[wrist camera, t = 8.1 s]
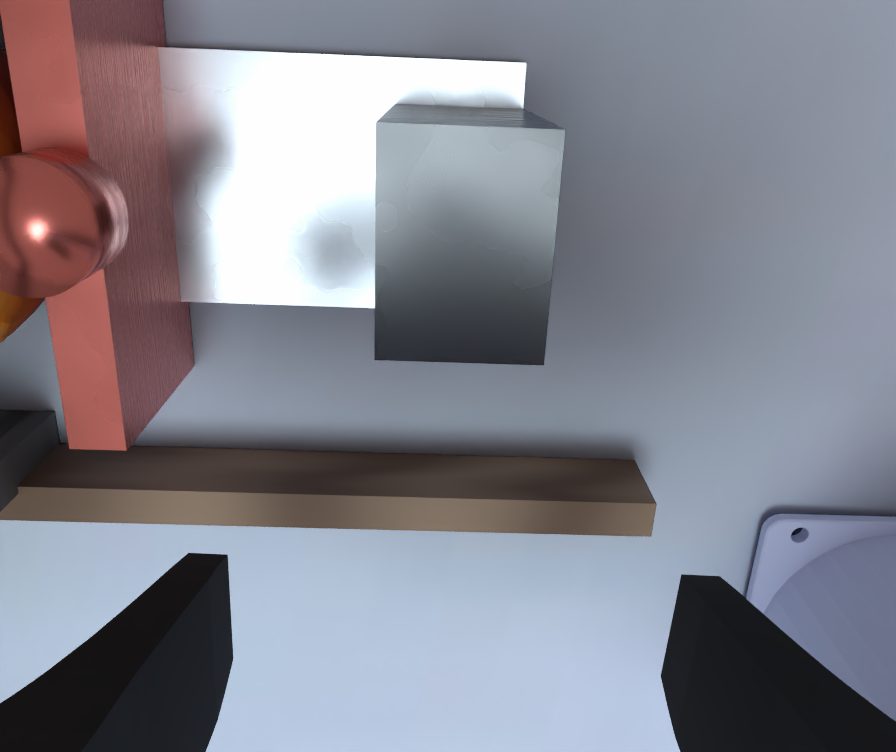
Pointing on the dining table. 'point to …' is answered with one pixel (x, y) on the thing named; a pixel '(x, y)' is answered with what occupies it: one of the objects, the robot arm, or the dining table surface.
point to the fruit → (3, 138)
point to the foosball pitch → (314, 487)
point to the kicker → (262, 200)
